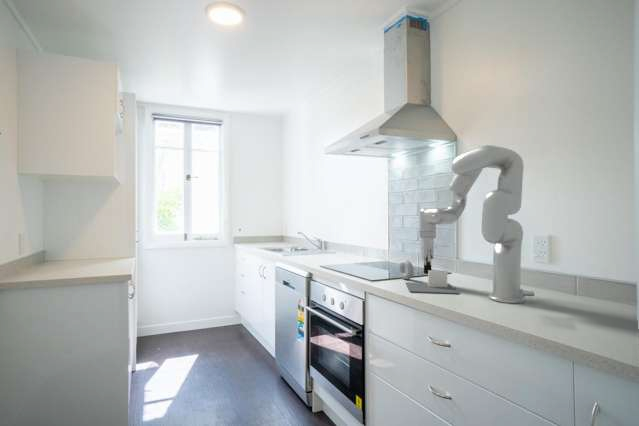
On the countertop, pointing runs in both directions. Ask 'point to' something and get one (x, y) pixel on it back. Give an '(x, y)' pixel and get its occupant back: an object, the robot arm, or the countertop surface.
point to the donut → (409, 269)
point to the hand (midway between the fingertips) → (427, 273)
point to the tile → (437, 278)
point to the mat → (430, 288)
